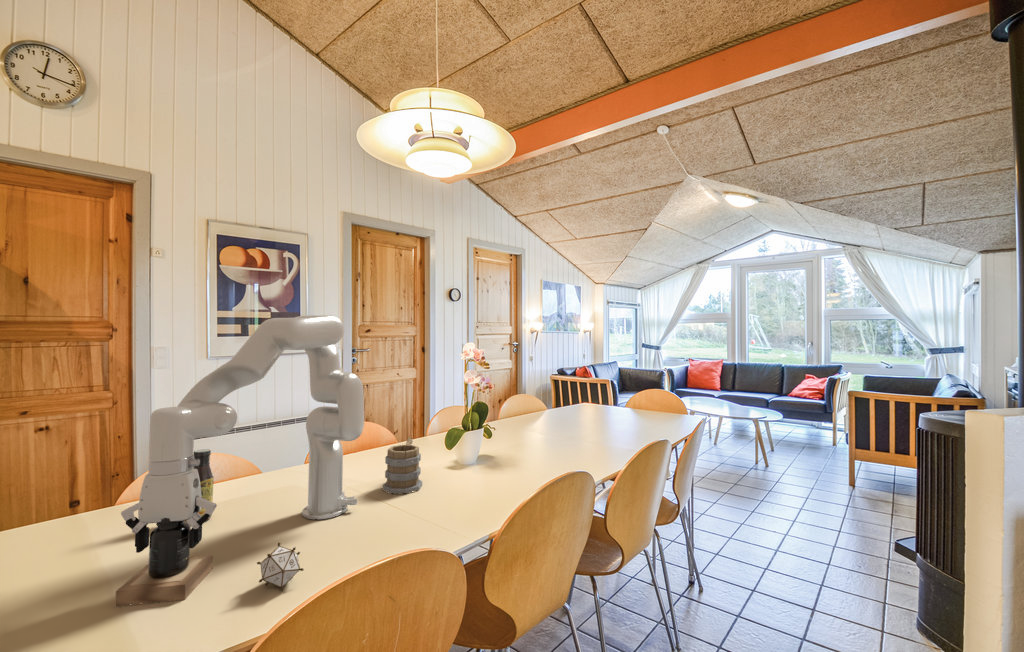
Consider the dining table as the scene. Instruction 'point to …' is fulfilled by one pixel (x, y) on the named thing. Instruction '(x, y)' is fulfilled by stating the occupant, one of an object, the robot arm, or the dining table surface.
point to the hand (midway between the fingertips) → (168, 547)
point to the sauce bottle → (204, 476)
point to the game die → (280, 566)
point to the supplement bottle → (169, 548)
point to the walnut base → (164, 584)
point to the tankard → (403, 468)
